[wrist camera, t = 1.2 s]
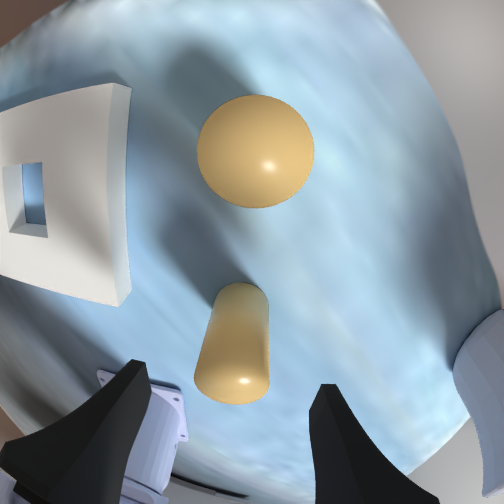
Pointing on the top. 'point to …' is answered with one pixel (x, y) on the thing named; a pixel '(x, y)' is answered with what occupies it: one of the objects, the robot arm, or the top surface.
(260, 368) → the peg
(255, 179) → the peg
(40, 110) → the housing
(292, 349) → the top surface
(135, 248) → the top surface
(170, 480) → the light grey angular block
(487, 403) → the soap bottle
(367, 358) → the top surface
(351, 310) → the top surface
